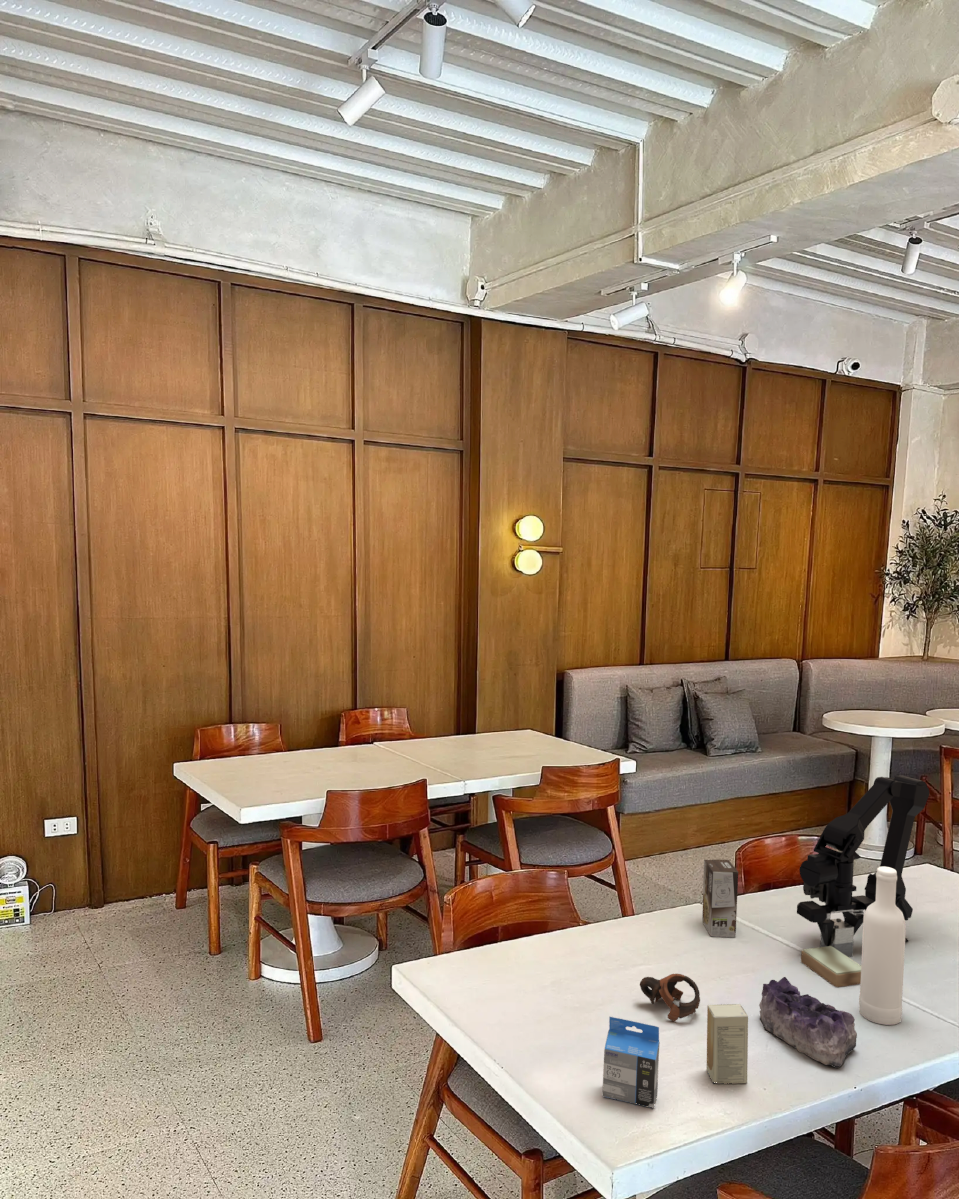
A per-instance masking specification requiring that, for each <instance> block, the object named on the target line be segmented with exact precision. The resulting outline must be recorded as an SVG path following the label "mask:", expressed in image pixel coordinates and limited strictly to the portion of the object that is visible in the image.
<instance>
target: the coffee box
mask: <svg viewBox="0 0 959 1199" xmlns="http://www.w3.org/2000/svg"><path fill="white" fill-rule="evenodd" d="M702 880H703V882H702V889H703V890H702V923H703V926H704V927H705V929H706V931H707V932H708V935H710V937H716V938H717V937H719V938H720V937H721V938H736V937H737V936H736V934H737V915H738V913H737V911H738V889H739V888H738V887H739V886H738V885H739V871H738V870H737V868H736V867H735V866H734V865H733V864H732V863H731V861H730V860H729V859H704V860H703V878H702Z"/></svg>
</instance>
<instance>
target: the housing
mask: <svg viewBox="0 0 959 1199" xmlns="http://www.w3.org/2000/svg"><path fill="white" fill-rule="evenodd" d="M830 919H831V920H832V921H834V922H835V923H834V928H833V932H832V937H831V942H830V945H829V946H832V947H834V948H835V949H837V950H838V951H840V952H841V953H843V954H844V955H846V956H847V957H849V958H853V957H854V956H853V954H854V937H855V935H854V927H853V926H851V925H850V924H848V923H846V922H845V921H844V919H841V918H830ZM819 947H827V946H826V945H825V944H824V941H823V938H822V935H821V934H820V944H819Z"/></svg>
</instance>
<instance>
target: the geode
mask: <svg viewBox="0 0 959 1199" xmlns="http://www.w3.org/2000/svg"><path fill="white" fill-rule="evenodd" d="M761 990H762V991H761V1000H760V1001H759V1005H758V1006H759V1009H760V1010H759V1014H760V1018H759V1019H760V1022H761V1024H762V1025H763V1026H762V1027H763V1028H764V1029H765V1031H768V1032H769V1033H771V1034H772V1035H774V1036H776V1037H777V1038H779V1039H781V1040H782V1041H784V1042H785V1043H786V1044H788V1046H789V1045H790V1046H791V1047H792V1048H794V1049H796V1050H797V1051H798V1052H800V1053H801V1054H805V1055H806V1056H807V1057H809V1058H811V1059H813V1060H815V1061H816V1062H819V1063H822V1064H823V1065H826V1066H832V1067H833V1068H836V1069H837V1068H840V1067H841V1066H842V1064H844V1062H845V1060H846V1058H847V1057H846V1056H847V1055H850V1054H849V1053H851V1052H852V1051H854V1049H855V1048H856V1047H857V1038H858V1033H857V1031H856V1029H855V1025H856V1024H855V1020H856V1019H855V1017H854V1015H853V1014H852V1013H850V1012H847V1011H844V1010H838V1009H837V1008H835V1006H833V1005H830V1004H826V1003H824V1002H821V1001H820V1000H819V999H817V998H816V997H814V996H811V995H810V994H808V993H807V994H802V995H801V992H800V991H799V988H798V986H796V985H793V984H792V983H791V982H790V981H789V980H788V979H787V977H786V976H783V977H782V978H780V979H779V980H778V981H777V980H775V979H770V981H769V982H768V983H763V984H762V989H761Z"/></svg>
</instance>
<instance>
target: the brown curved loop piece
mask: <svg viewBox="0 0 959 1199" xmlns="http://www.w3.org/2000/svg"><path fill="white" fill-rule="evenodd" d="M681 982H685V983H687V984H688V985H689V987H691V988H692V990H693V992H694V998H693V999H692V1000H691V1001H688V1002H683V1001H681V999H682V996H683V995H684V991H682V990H680V989H679V988H677V987H676V985H677V984H678V983H681ZM639 986H640V990H641V992H642V993H643V994H644V995H645V997H647V998H648V999H649V1001H650V1002H651V1005H655V1003H657V1002H658V1001H659V1000H661V999H662V1000H663V1001H664V1003H665V1004H666V1006H667V1007H668V1008H669V1009H670V1010H669V1013H668V1014H667V1019H668V1020H670V1021H671V1020H672V1021H671V1022H674V1021H675V1022H676V1021H678V1020H679V1019H682V1018H683V1019H684V1018H686V1017H689V1016H692V1015H693V1014H694V1013H696V1012H697V1011H696V1010H697V1009H699V1006H700V1003H701V997H700V990H699V987H698V985H697V983H696V982H695V981H694V980H693V979H692V978H691V977H689V976H687V975H684V974H682V973H671V974H669V975H667V976H664V977H663V978H661V979H657V978H655V977H653V976H645V977H643V978H642V979H641V980H640V982H639ZM675 999H676V1000H678V1001H679V1002H678V1005H677V1004H676V1003H674V1000H675Z"/></svg>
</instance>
